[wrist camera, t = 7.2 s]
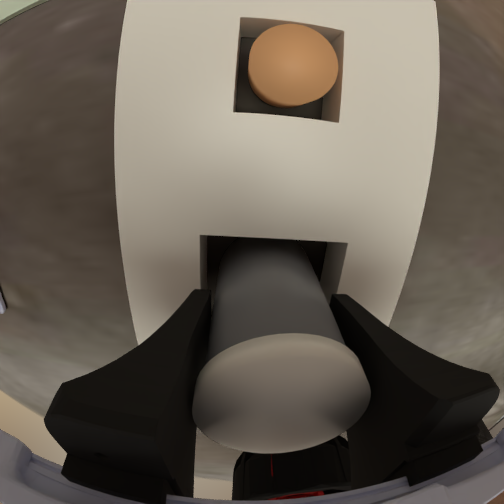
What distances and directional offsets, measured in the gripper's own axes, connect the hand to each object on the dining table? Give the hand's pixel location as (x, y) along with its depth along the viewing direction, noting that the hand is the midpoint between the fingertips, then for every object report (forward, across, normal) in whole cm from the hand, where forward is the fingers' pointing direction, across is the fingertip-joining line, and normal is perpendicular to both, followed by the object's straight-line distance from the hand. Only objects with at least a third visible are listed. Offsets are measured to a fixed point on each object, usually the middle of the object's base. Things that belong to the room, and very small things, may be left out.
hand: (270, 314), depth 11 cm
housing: (+3, 0, -4) cm, 6 cm away
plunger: (+3, 0, -9) cm, 9 cm away
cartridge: (+3, 0, 0) cm, 3 cm away
